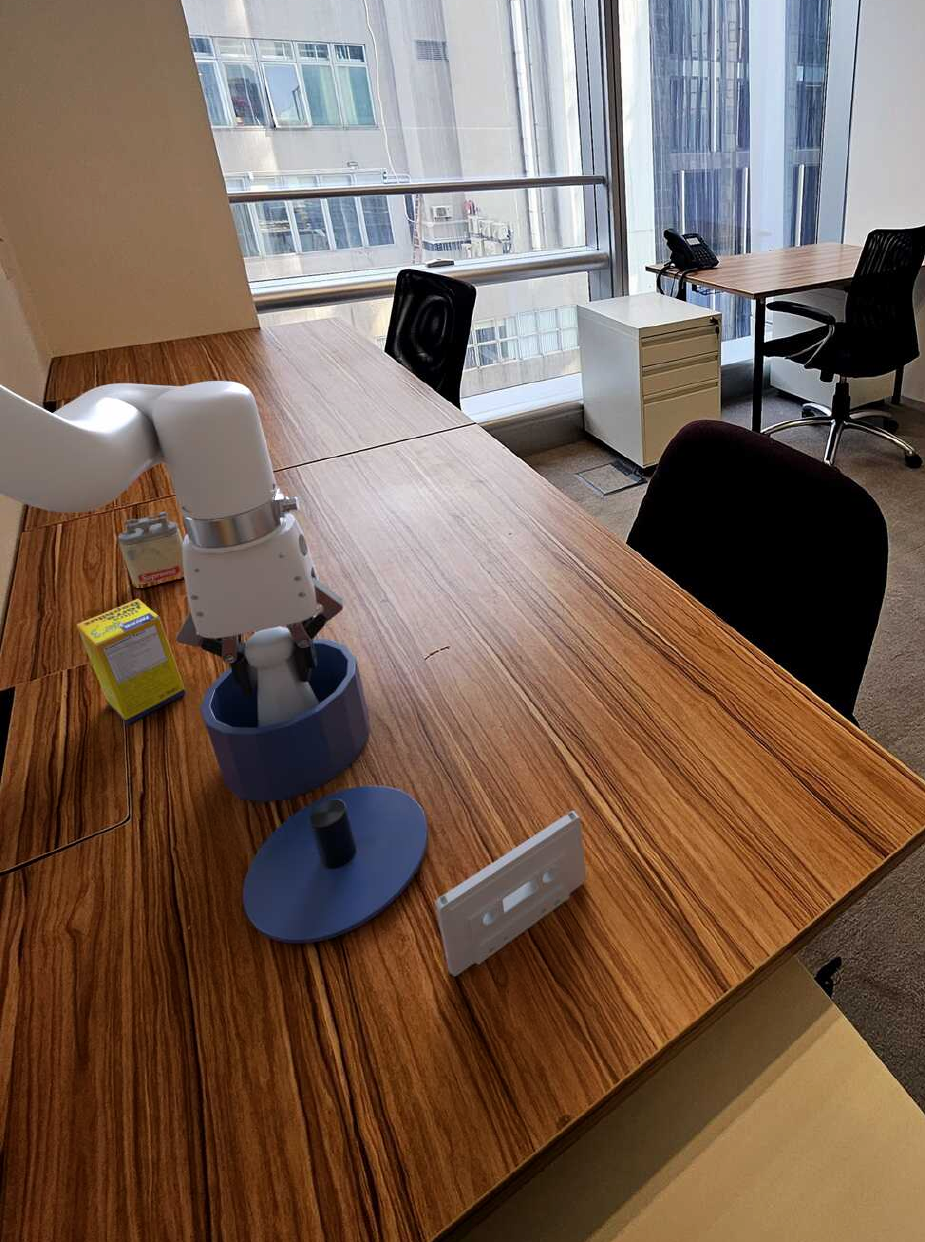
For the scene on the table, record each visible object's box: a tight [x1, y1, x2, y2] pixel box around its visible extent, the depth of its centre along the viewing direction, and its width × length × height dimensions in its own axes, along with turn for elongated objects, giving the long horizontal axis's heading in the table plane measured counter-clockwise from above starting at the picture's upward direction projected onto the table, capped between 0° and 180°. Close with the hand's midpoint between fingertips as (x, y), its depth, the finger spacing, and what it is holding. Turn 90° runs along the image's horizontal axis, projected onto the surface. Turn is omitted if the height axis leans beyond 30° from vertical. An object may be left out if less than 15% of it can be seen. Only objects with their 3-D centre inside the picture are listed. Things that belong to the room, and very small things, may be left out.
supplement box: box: [76, 598, 187, 726], centre depth 81 cm, size 6×6×11 cm
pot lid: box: [242, 785, 429, 945], centre depth 63 cm, size 15×15×6 cm
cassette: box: [434, 810, 587, 977], centre depth 58 cm, size 12×2×8 cm, turn 131°
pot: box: [199, 638, 371, 803], centre depth 75 cm, size 14×14×8 cm
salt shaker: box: [244, 626, 320, 728], centre depth 74 cm, size 6×6×13 cm
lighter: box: [117, 511, 184, 584], centre depth 104 cm, size 7×4×10 cm, turn 122°
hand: (279, 677), depth 73 cm, fingers closed on salt shaker, 4 cm apart
